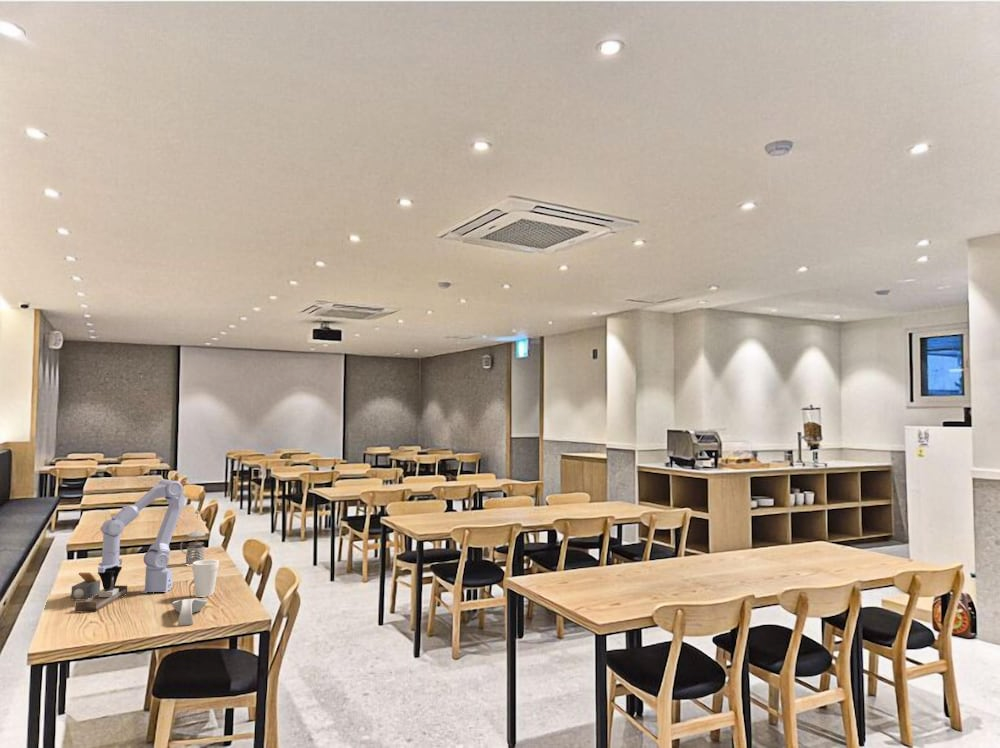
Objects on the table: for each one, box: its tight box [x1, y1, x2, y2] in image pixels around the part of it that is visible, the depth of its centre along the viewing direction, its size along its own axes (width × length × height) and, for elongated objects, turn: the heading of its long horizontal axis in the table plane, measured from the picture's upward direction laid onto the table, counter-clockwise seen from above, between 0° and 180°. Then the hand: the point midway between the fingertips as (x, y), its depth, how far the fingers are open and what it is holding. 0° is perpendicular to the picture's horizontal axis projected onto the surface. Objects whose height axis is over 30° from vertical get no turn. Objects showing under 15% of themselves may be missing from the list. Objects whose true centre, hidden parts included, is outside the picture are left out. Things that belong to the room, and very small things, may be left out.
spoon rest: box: [171, 597, 209, 627], centre depth 238 cm, size 24×12×7 cm, turn 22°
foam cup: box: [191, 559, 220, 597], centre depth 265 cm, size 10×9×13 cm
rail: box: [74, 585, 128, 613], centre depth 253 cm, size 7×24×3 cm, turn 5°
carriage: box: [98, 576, 119, 597], centre depth 258 cm, size 5×5×7 cm
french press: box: [180, 510, 206, 565], centre depth 321 cm, size 10×12×25 cm
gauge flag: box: [78, 572, 98, 581], centre depth 262 cm, size 4×7×1 cm
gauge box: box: [70, 579, 101, 600], centre depth 261 cm, size 6×10×5 cm, turn 5°
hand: (109, 587), depth 258 cm, fingers closed on carriage, 3 cm apart
